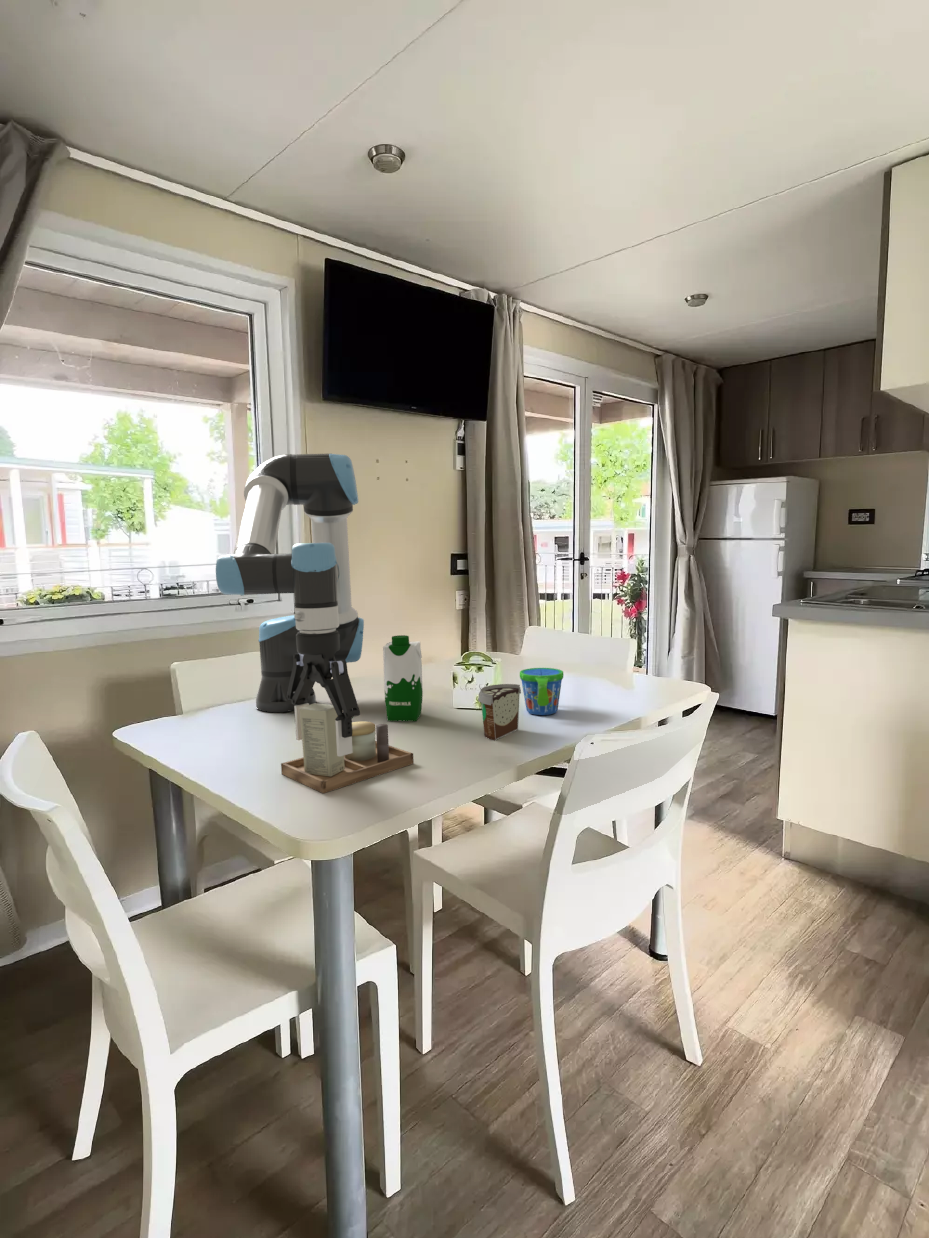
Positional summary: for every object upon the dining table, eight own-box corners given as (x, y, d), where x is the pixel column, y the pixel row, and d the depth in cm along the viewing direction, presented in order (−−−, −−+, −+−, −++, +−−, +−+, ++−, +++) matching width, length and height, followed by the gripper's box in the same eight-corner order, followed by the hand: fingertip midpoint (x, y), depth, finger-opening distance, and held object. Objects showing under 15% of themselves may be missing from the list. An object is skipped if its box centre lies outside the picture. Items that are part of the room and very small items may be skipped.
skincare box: (345, 770, 120) (342, 704, 119) (330, 778, 116) (327, 710, 115) (317, 765, 123) (314, 701, 122) (302, 773, 119) (298, 707, 118)
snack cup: (523, 703, 169) (522, 664, 168) (564, 704, 167) (564, 665, 166) (516, 720, 154) (516, 677, 152) (562, 721, 152) (562, 678, 150)
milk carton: (382, 722, 154) (379, 638, 152) (390, 712, 163) (387, 632, 161) (419, 722, 154) (416, 637, 151) (425, 712, 163) (423, 632, 160)
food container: (498, 724, 151) (497, 681, 150) (521, 728, 147) (520, 684, 146) (467, 737, 141) (466, 692, 140) (491, 742, 137) (490, 695, 136)
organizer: (281, 773, 122) (279, 732, 121) (369, 748, 135) (368, 711, 134) (323, 793, 112) (321, 748, 111) (413, 763, 125) (412, 723, 125)
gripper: (263, 626, 123) (270, 736, 126) (339, 639, 105) (345, 767, 108) (299, 622, 128) (305, 728, 131) (377, 634, 110) (382, 756, 113)
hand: (323, 746), depth 119 cm, fingers open, 13 cm apart
